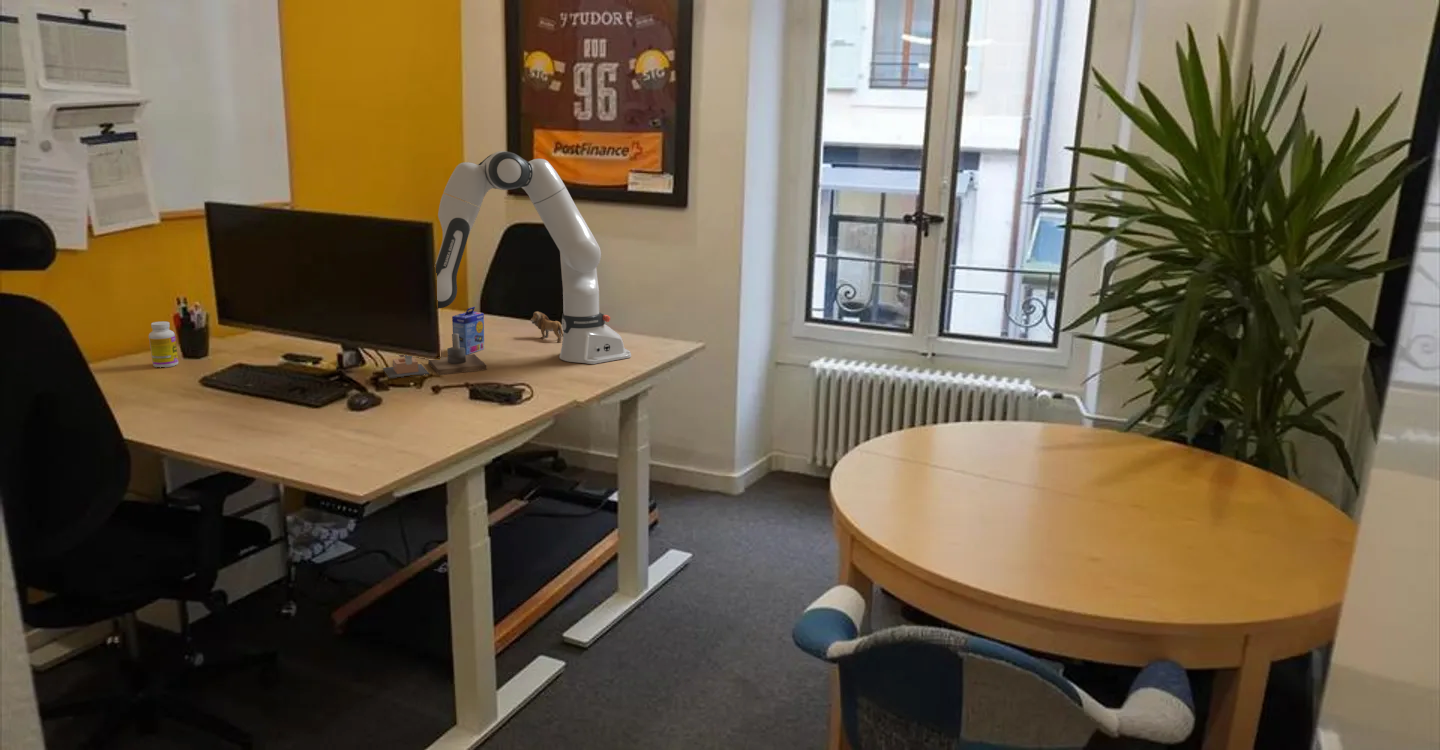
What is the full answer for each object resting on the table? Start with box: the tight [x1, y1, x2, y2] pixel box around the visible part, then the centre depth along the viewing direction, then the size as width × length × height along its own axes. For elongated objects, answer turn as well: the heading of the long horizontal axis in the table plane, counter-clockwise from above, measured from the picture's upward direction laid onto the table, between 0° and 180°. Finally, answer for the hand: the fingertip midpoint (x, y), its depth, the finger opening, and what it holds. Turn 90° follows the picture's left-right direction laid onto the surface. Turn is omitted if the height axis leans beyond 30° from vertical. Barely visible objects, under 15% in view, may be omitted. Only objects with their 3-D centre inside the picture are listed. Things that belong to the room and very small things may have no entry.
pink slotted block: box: [392, 356, 419, 374], centre depth 281 cm, size 6×6×3 cm
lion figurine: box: [530, 311, 563, 343], centre depth 323 cm, size 15×5×9 cm, turn 62°
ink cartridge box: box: [451, 306, 485, 355], centre depth 304 cm, size 10×6×14 cm, turn 157°
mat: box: [382, 363, 430, 379], centre depth 281 cm, size 11×11×1 cm
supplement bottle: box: [148, 320, 179, 369], centre depth 281 cm, size 7×7×13 cm
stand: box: [427, 333, 487, 376], centre depth 287 cm, size 14×14×10 cm
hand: (405, 360), depth 280 cm, fingers open, 8 cm apart
